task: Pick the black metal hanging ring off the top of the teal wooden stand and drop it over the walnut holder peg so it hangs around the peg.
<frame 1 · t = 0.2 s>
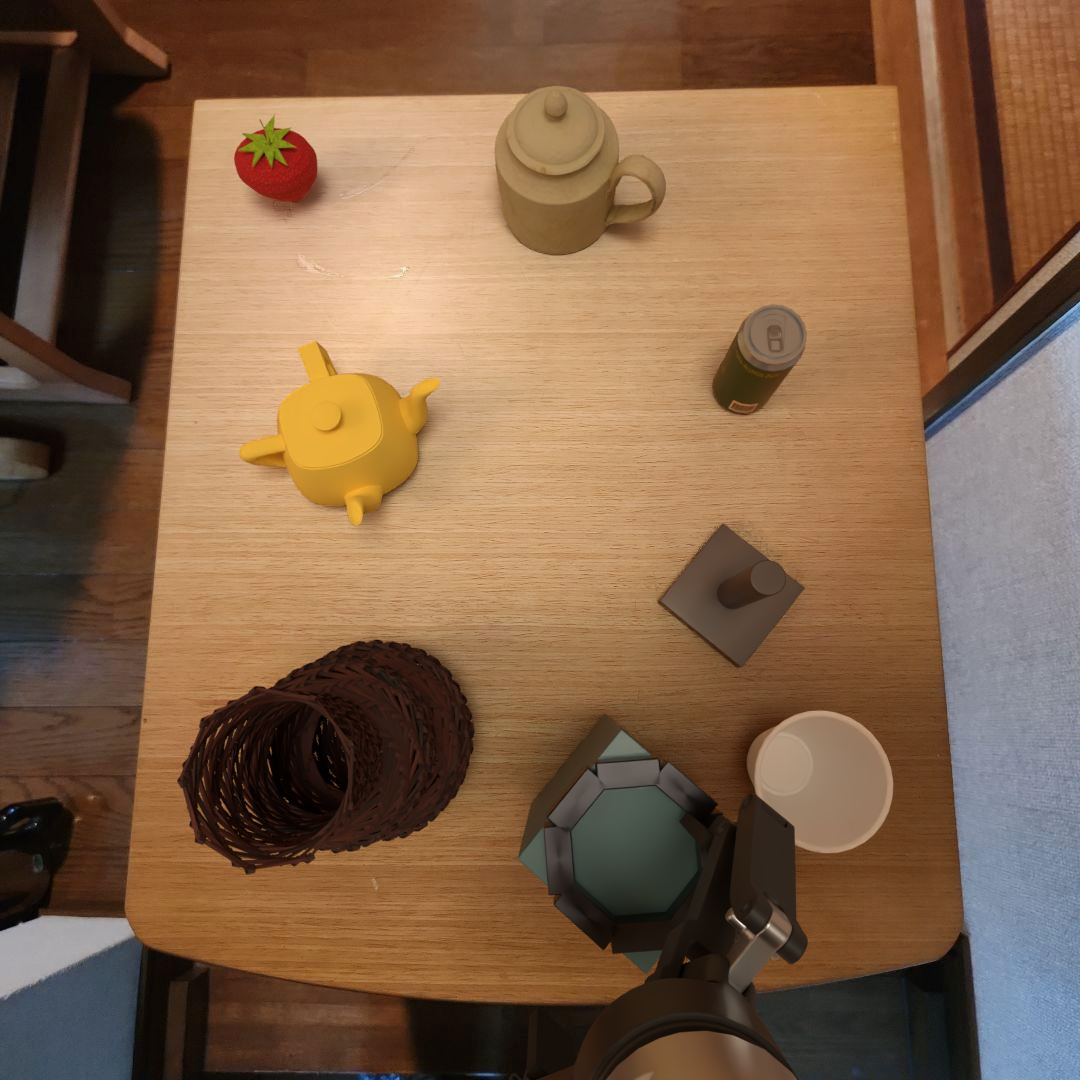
hand: (628, 927, 44), 22 cm above the table, tool pointing down, fingers open, 13 cm apart
strawberry: (296, 199, 77), on the table
ring: (633, 848, 47), point 20 cm above the table, touching gripper, stand
vase: (395, 730, 68), on the table
teapot: (366, 453, 73), on the table
holder: (728, 595, 69), on the table
stand: (612, 796, 67), on the table
lidded mug: (577, 205, 76), on the table
cup: (781, 763, 67), on the table
beer can: (740, 389, 73), on the table
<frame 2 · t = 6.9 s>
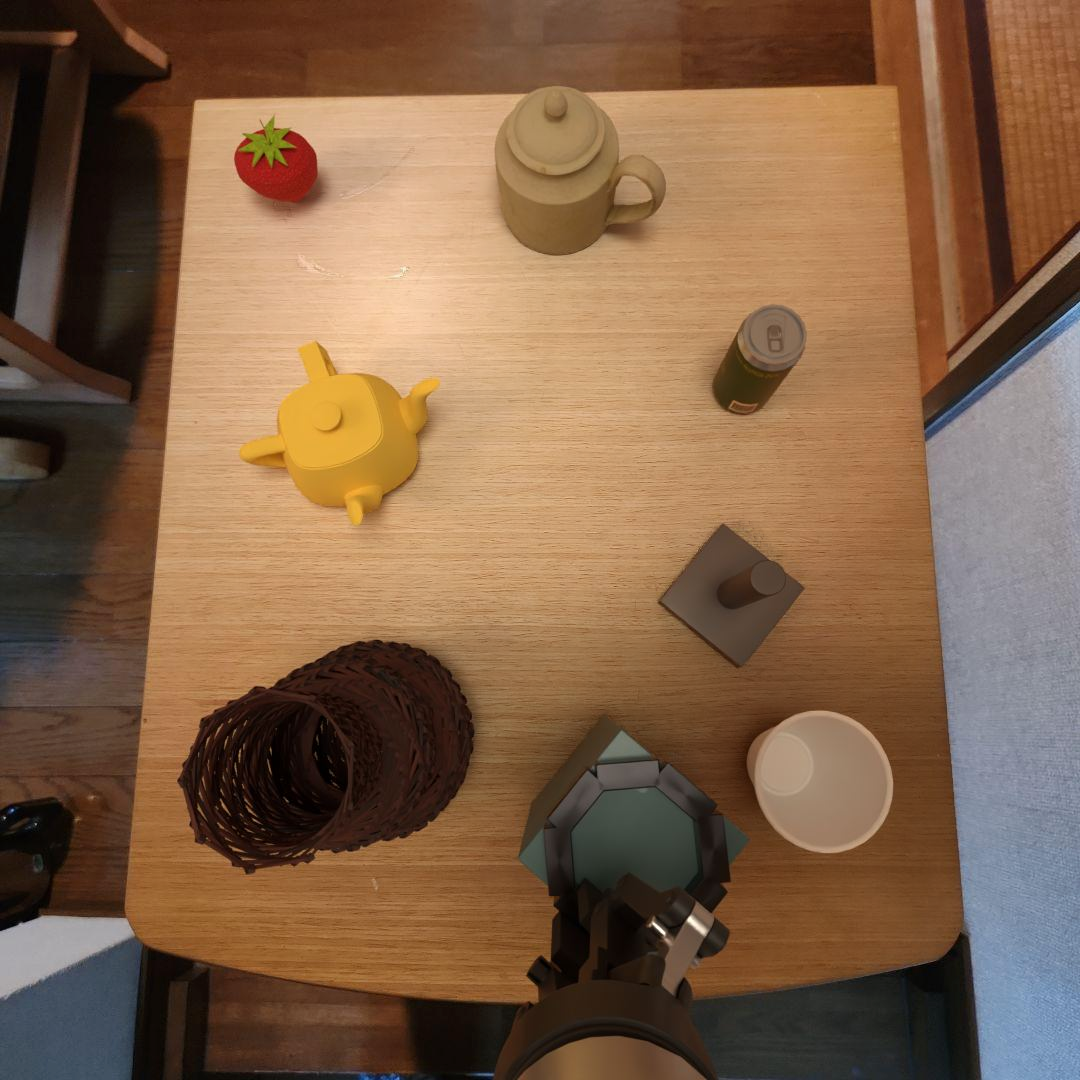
hand: (586, 914, 45), 21 cm above the table, tool pointing down, fingers closed on ring, 2 cm apart
ring: (633, 849, 47), point 20 cm above the table, touching gripper
everything else where it was.
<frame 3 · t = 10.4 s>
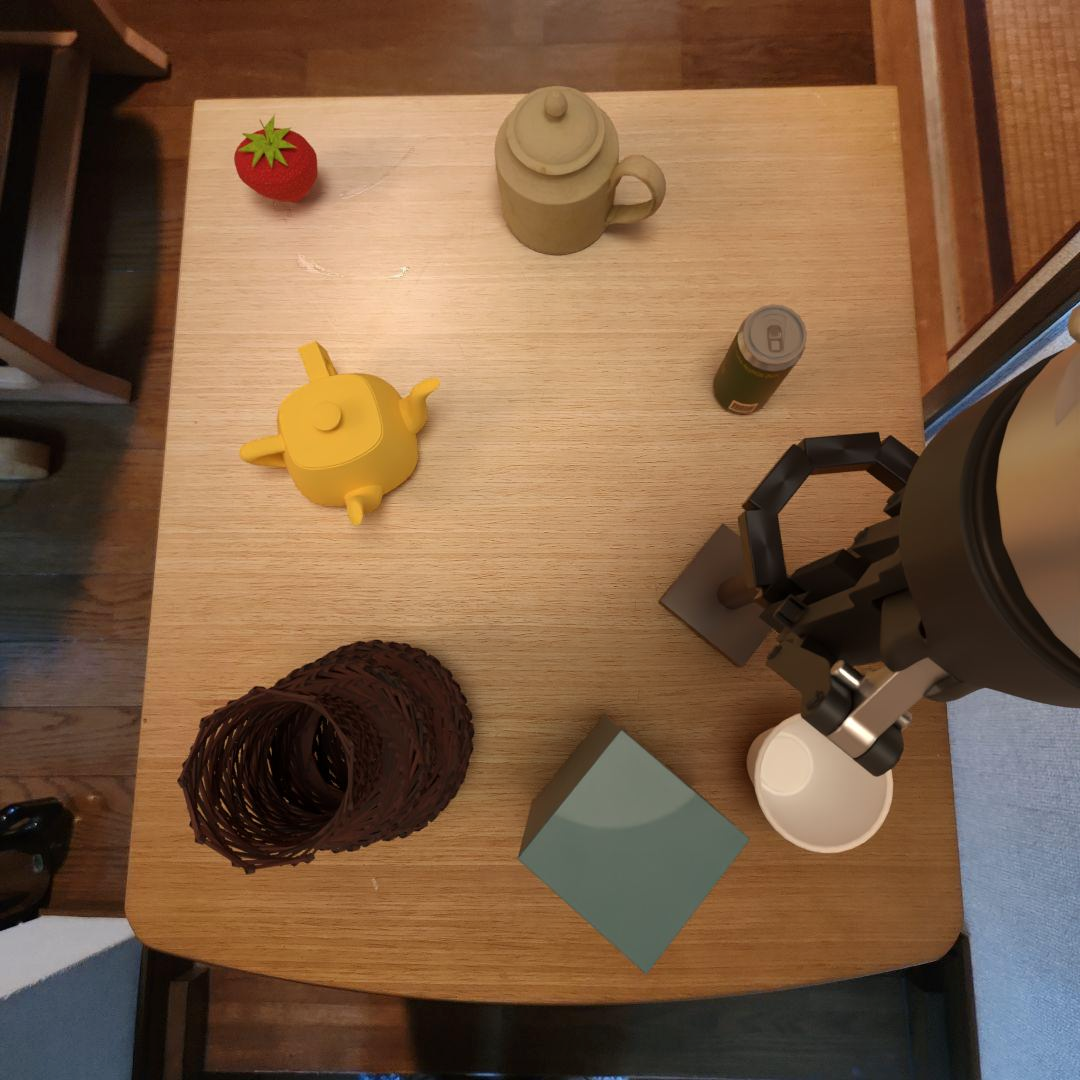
hand: (800, 610, 38), 31 cm above the table, tool pointing down, fingers closed on ring, 2 cm apart
ring: (846, 544, 39), point 30 cm above the table, touching gripper
everything else where it was.
when the fingers open (13 cm above the table, at t = 14.3 s): ring drops 10 cm, resting on holder.
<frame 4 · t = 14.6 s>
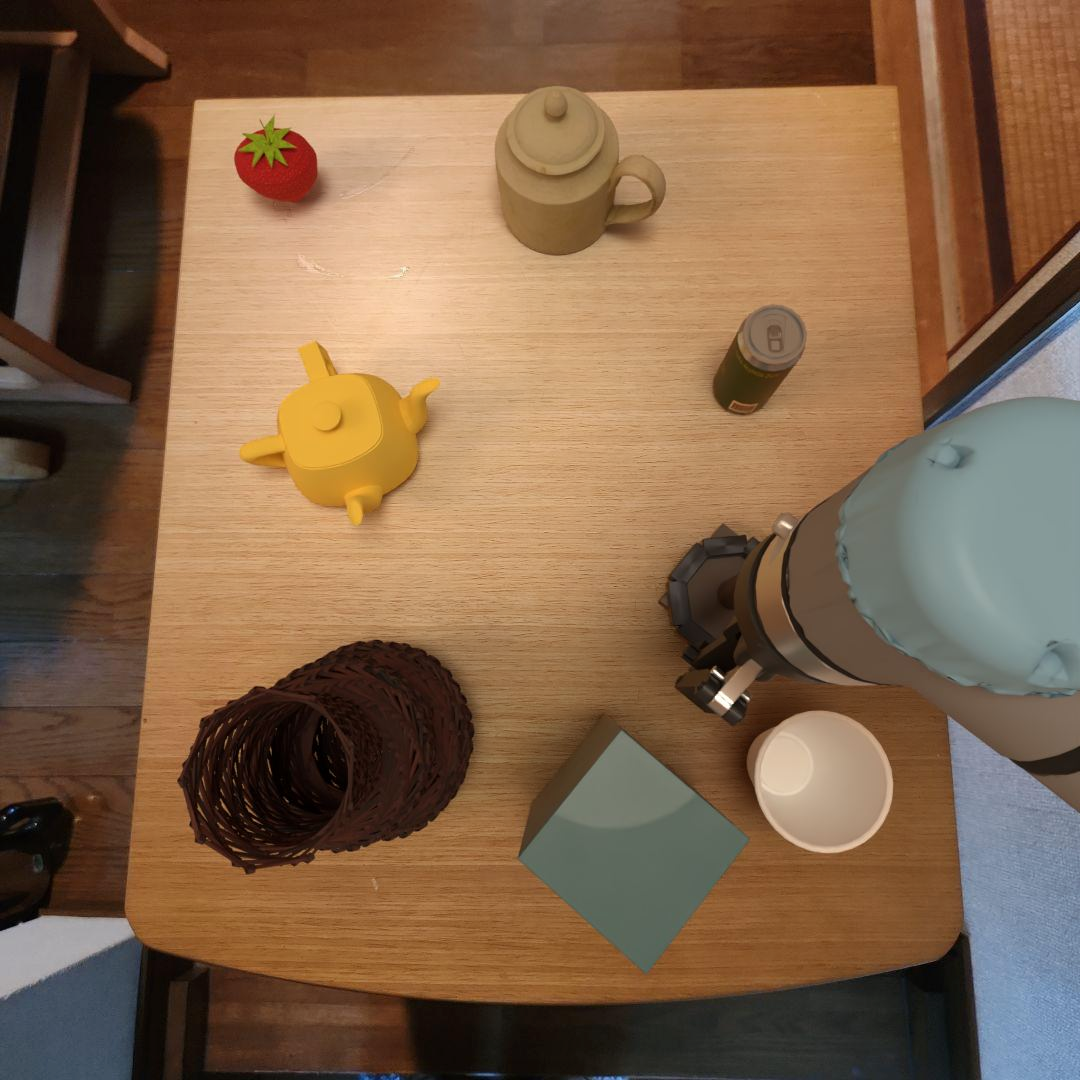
hand: (726, 628, 56), 13 cm above the table, tool pointing down, fingers open, 5 cm apart
ring: (728, 599, 68), point 1 cm above the table, touching holder
everything else where it was.
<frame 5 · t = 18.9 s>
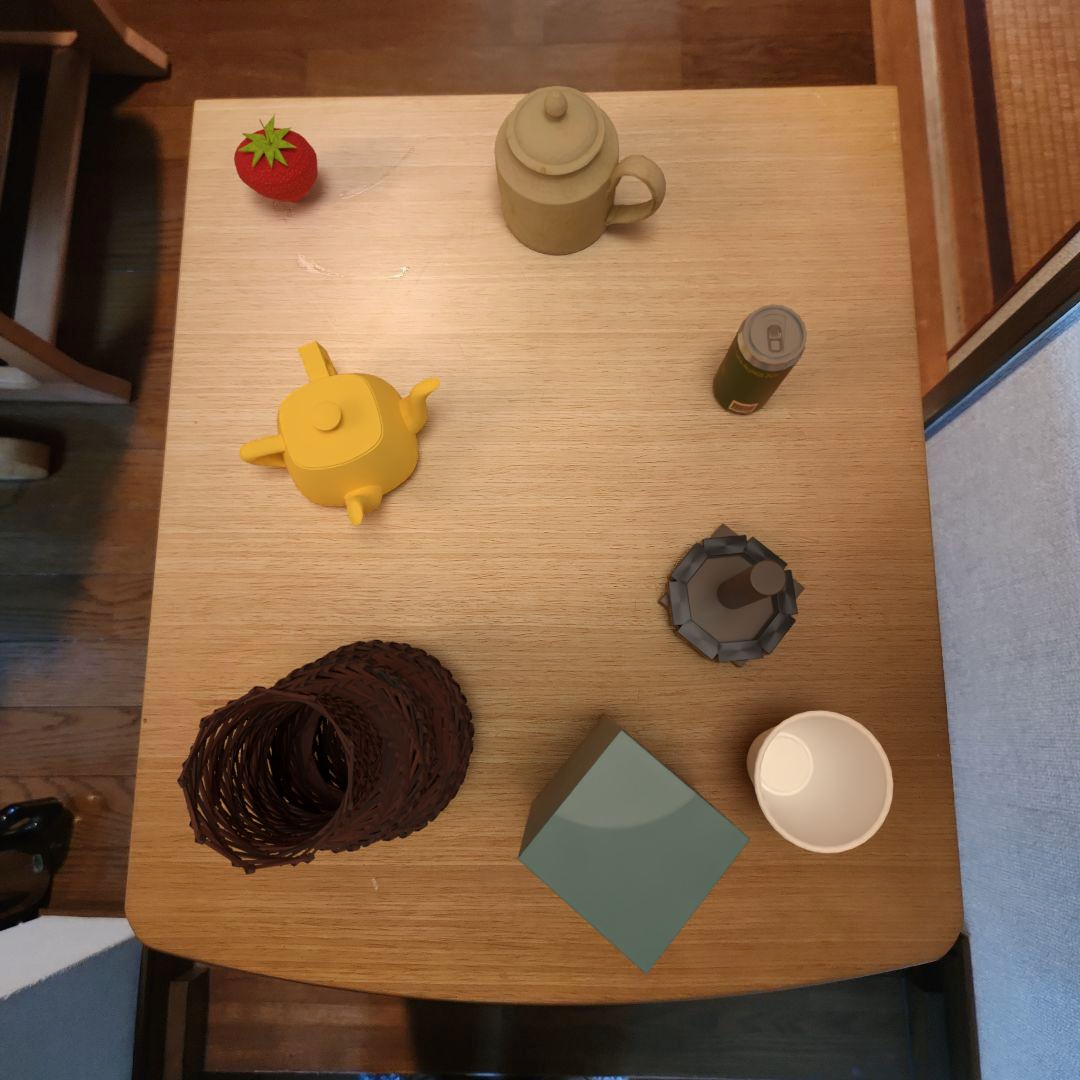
nothing on the table moved.
at the end: ring 0.5 cm off-centre on the holder, point 1.5 cm above the holder's base; the gripper is holding nothing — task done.
